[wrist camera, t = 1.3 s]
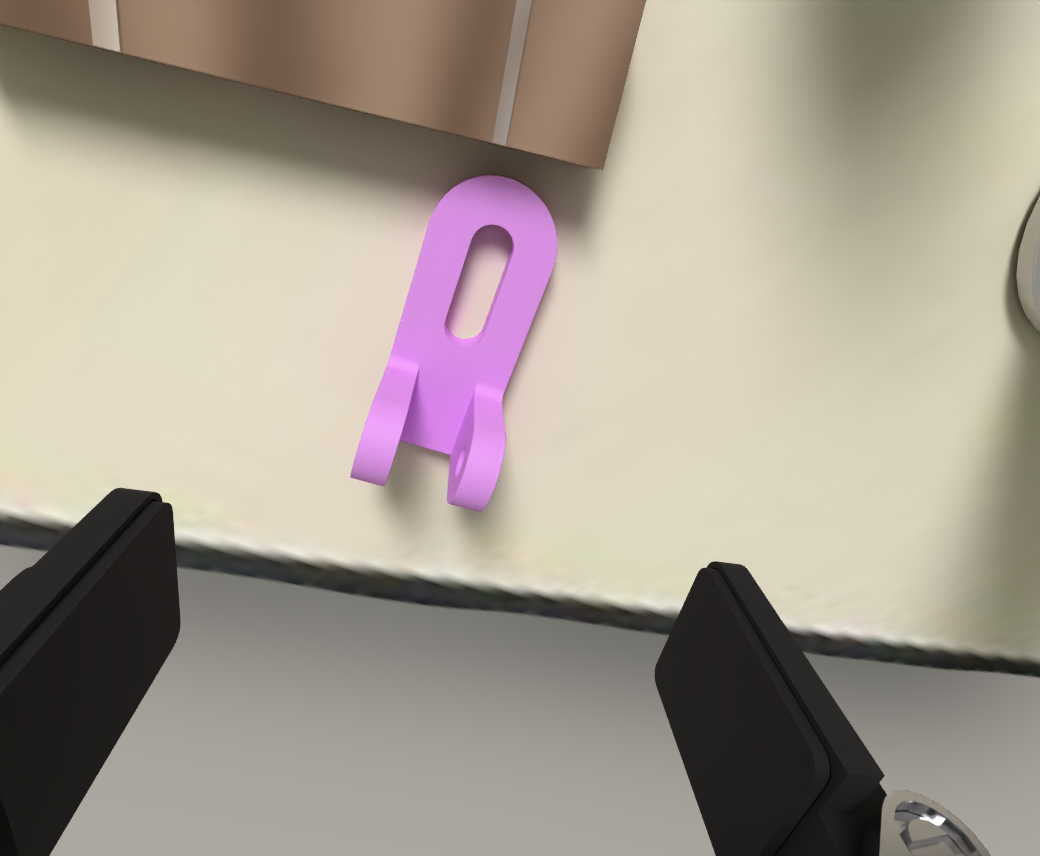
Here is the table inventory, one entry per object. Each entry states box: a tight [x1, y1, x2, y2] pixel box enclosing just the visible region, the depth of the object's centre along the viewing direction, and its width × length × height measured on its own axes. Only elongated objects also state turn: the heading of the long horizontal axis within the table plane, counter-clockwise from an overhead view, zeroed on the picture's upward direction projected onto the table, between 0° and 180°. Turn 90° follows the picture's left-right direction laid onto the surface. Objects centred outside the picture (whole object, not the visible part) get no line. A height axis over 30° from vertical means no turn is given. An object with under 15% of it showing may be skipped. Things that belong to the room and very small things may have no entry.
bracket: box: [350, 174, 557, 512], centre depth 23 cm, size 13×6×7 cm, turn 159°
